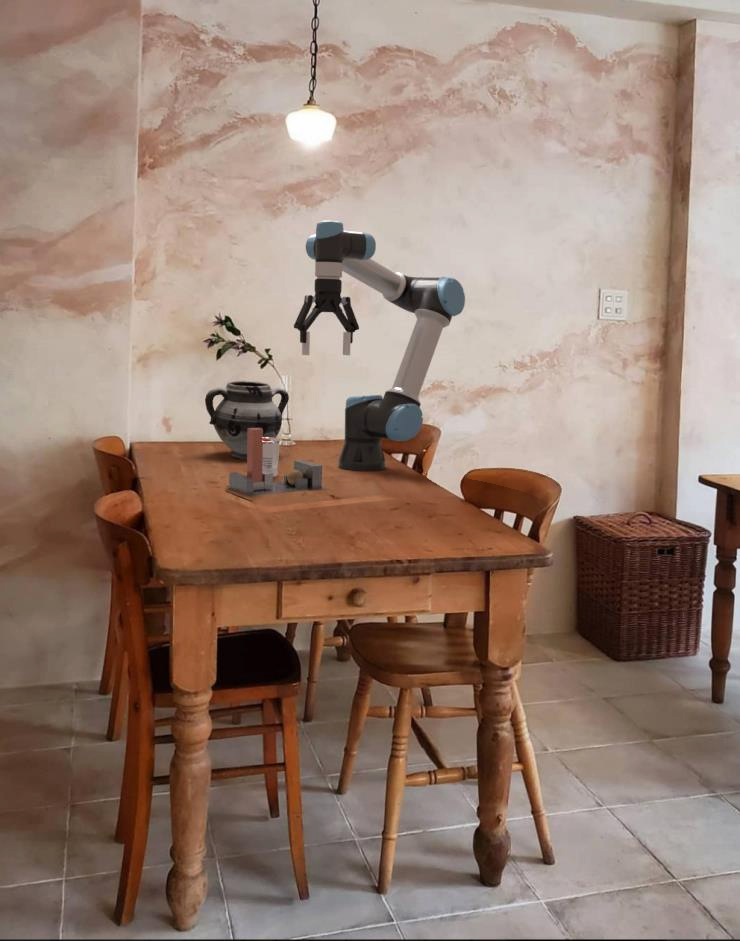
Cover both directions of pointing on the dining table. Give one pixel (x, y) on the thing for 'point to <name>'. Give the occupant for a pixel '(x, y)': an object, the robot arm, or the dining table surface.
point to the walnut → (294, 476)
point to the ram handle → (257, 460)
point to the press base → (308, 482)
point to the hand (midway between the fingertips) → (326, 355)
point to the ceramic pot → (245, 412)
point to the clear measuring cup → (270, 455)
